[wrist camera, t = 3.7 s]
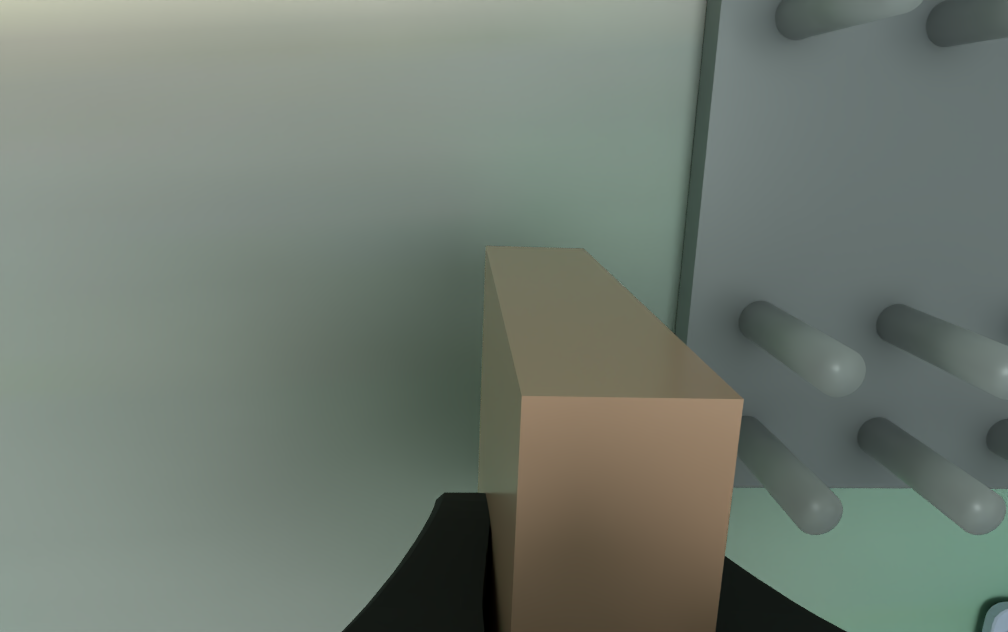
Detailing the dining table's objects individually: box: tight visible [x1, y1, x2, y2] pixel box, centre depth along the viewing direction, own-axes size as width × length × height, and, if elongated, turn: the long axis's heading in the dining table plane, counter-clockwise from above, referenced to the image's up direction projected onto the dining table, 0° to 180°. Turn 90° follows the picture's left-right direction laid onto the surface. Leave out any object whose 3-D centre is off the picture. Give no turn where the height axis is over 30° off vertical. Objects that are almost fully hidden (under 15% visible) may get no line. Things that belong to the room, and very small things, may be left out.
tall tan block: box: [478, 246, 744, 632], centre depth 10 cm, size 8×2×7 cm, turn 178°
